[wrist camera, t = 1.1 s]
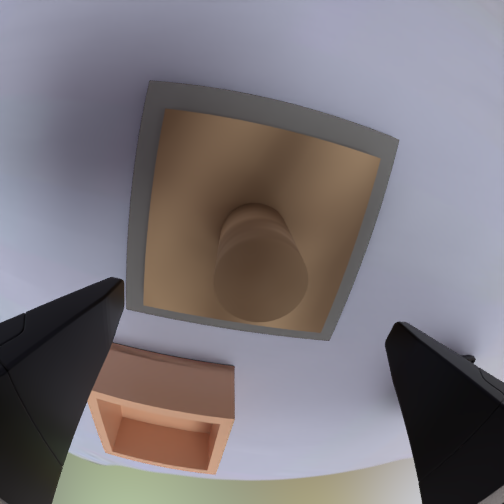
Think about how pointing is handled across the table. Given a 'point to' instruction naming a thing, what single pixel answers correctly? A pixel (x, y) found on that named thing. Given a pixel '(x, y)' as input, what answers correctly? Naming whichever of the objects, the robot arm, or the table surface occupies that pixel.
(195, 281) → the lid
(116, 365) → the dish
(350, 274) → the mat
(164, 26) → the table surface
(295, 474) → the table surface
